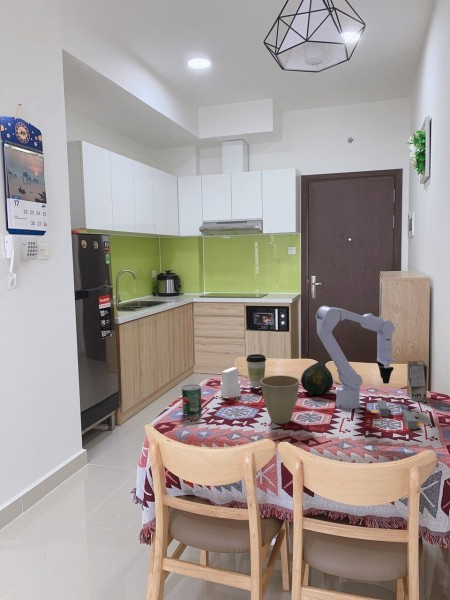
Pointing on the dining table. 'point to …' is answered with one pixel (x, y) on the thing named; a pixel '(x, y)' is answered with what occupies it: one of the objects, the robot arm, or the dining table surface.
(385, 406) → the slider back
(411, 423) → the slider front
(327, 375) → the squash
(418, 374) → the coffee box
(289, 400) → the plant pot
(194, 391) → the canned tomato
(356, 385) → the robot arm
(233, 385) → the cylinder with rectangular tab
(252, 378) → the coffee cup
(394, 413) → the dining table surface
